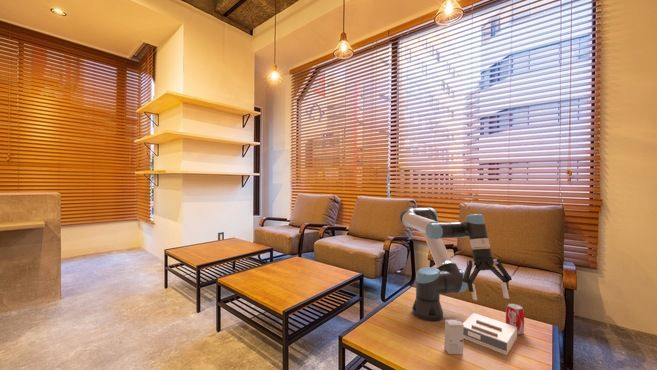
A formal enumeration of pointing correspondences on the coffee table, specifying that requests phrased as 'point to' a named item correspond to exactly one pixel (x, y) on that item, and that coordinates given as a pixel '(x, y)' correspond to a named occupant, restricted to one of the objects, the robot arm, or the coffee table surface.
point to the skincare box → (454, 336)
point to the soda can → (515, 317)
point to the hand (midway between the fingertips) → (490, 299)
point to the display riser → (490, 333)
